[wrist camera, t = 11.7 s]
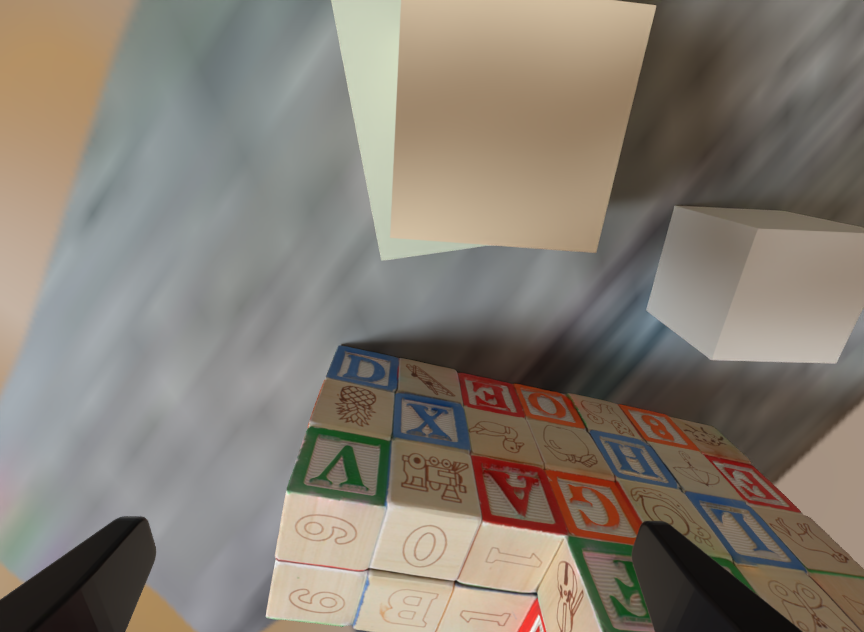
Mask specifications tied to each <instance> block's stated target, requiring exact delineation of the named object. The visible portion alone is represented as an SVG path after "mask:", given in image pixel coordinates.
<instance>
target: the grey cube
mask: <svg viewBox="0 0 864 632" xmlns="http://www.w3.org/2000/svg"><path fill="white" fill-rule="evenodd" d="M863 307H864V227H859V226H855V225H850V224H845V223H840V222H835V221H830V220H826V219H821V218H816V217H811V216H806V215H801V214H797V213H792V212H787V211H779V210H757V209H736V208H714V207H693V206H674V210H673V213H672V217H671V221H670V225H669V228H668V232H667V236H666V239H665V243H664V247H663V250H662V254H661V258H660V261H659V265H658V269H657V273H656V276H655V280H654V284H653V287H652V291H651V295H650V298H649V302H648V306H647V310H646V311H648V312H649V313H650V314H652V315H653V316H654V317H655V318H657V319H658V320H659V321H661V322H662V323H663V324H665V325H666V326H667V327H669V328H670V329H671V330H673V331H674V332H675V333H676V334H678V335H679V336H680V337H682V338H683V339H684V340H686V341H687V342H688V343H690V344H691V345H692V346H694V347H695V348H696V349H697V350H699V351H700V352H701V353H703V354H704V355H705V356H707V357H708V358H709V359H711V360H726V361H764V362H802V363H837V361H838V359H839V357H840V354H841V352H842V350H843V348H844V346H845V344H846V342H847V340H848V338H849V336H850V334H851V332H852V330H853V328H854V326H855V324H856V322H857V320H858V318H859V316H860V314H861V311H862V309H863Z"/></svg>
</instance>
